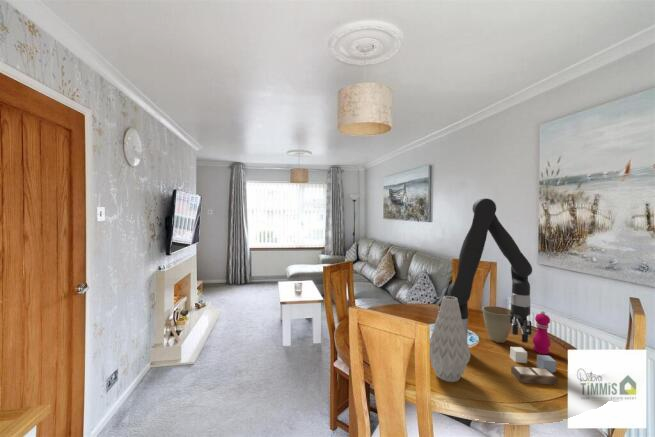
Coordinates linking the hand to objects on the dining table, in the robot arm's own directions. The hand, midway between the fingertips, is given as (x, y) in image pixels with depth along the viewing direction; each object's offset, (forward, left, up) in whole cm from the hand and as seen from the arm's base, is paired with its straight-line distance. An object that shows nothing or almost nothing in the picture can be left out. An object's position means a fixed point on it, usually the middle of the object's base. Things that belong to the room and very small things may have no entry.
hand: (519, 338), depth 141 cm
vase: (-37, -19, -10) cm, 43 cm away
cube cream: (0, 0, -10) cm, 10 cm away
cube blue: (+8, -7, -10) cm, 15 cm away
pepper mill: (+16, +11, -10) cm, 22 cm away
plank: (-2, -16, -10) cm, 19 cm away
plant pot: (0, +22, -10) cm, 24 cm away
